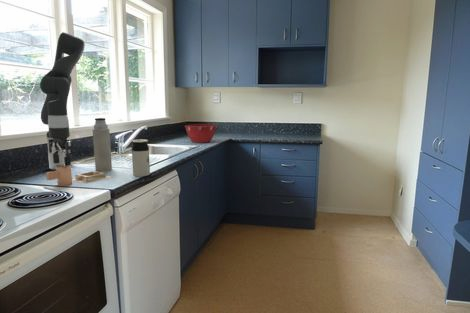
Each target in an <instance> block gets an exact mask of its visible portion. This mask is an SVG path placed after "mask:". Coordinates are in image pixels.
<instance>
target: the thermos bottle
mask: <svg viewBox="0 0 470 313" xmlns="http://www.w3.org/2000/svg"><path fill="white" fill-rule="evenodd" d="M94 120H95V123H94V125H93V129H92V139H93V141H92V142H93V155H94V165H95V166H94V168H95V171H96V172H108V171H112V170H113V163H112V150H111V147H112V146H111V134H110V128H108V127H109V125H108V124H107V121H106V118H104V117H98V118H94Z"/></svg>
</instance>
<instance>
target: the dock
mask: <svg viewBox="0 0 470 313" xmlns="http://www.w3.org/2000/svg"><path fill="white" fill-rule="evenodd" d="M106 174H107V173H105V172H103V171H96V170H92V171H86V172H82V173H77V174H75V177H72V182H73V181H74V182H77V183H83V184H90V183H93V182H94V183H95V182H97V181H102V180H107V179H111V178H113V176H110V175H106Z"/></svg>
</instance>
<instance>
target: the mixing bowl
mask: <svg viewBox="0 0 470 313" xmlns="http://www.w3.org/2000/svg"><path fill="white" fill-rule="evenodd" d="M184 128H185V130H186V133H187V137H188V138H189V140H190V141H191V142H193V143H194V142H196V143H195V144H206V142H207V143H209V142H210V141H212V140H213V138H214V136H215V132H216V129H217V124H213V123H211V124H210V123H204V124H203V123H201V124H200V123H197V124H194V123H193V124H185V125H184Z"/></svg>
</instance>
